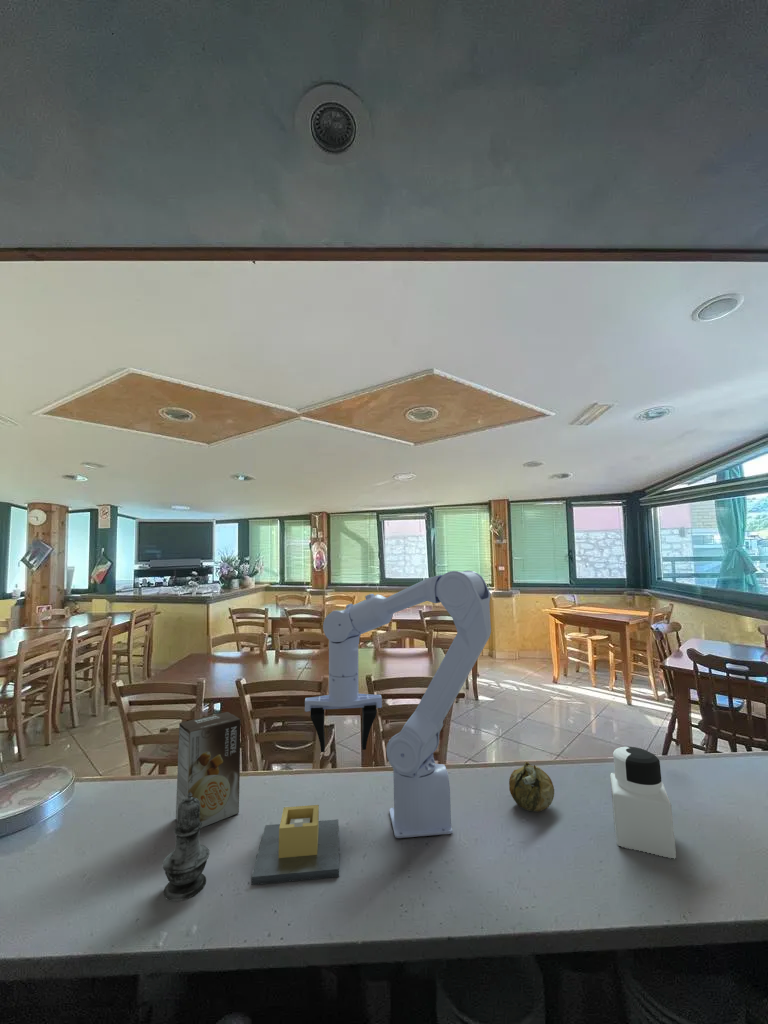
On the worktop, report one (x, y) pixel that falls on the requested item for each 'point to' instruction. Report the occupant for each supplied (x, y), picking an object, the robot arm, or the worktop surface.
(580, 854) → the worktop surface
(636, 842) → the container
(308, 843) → the yellow square planter
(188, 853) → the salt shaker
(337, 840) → the grey square base plate
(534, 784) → the onion
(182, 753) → the coffee box
